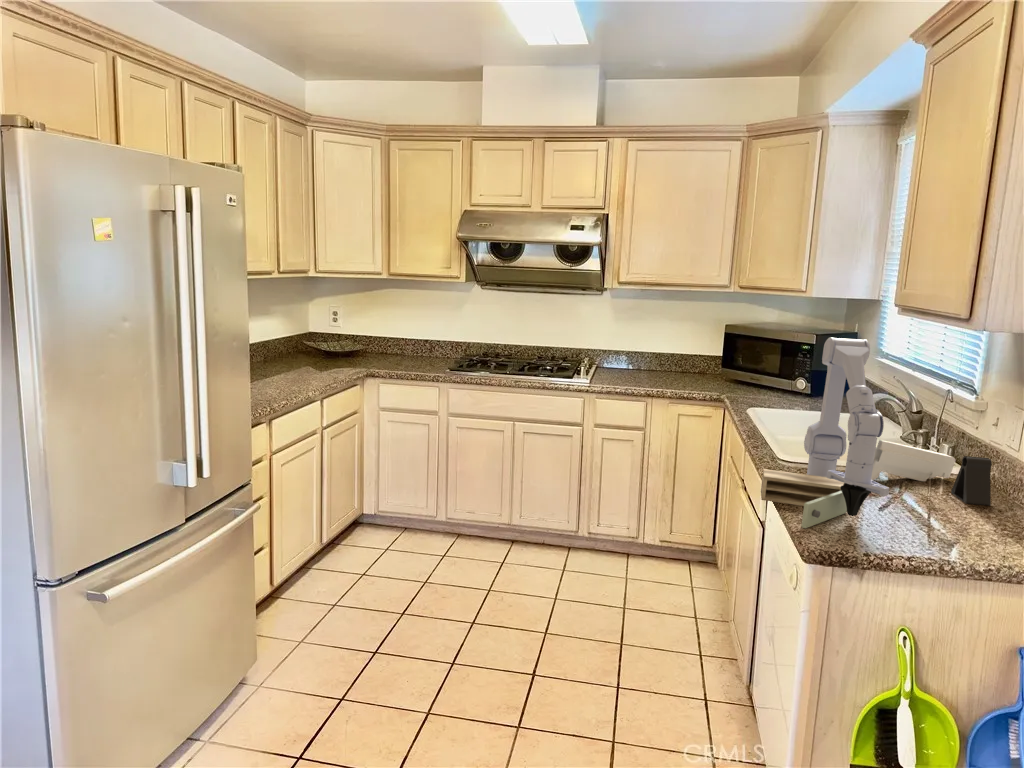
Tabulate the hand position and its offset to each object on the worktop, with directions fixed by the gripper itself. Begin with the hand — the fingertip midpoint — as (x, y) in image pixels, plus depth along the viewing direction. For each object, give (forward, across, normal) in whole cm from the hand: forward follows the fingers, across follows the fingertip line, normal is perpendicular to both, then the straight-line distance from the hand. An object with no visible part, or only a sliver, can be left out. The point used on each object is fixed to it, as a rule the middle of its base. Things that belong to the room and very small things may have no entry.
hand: (852, 514), depth 163 cm
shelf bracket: (+3, -13, +49) cm, 51 cm away
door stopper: (+2, +5, +48) cm, 48 cm away
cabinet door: (+2, -3, -4) cm, 6 cm away
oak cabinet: (+2, -15, +2) cm, 16 cm away
